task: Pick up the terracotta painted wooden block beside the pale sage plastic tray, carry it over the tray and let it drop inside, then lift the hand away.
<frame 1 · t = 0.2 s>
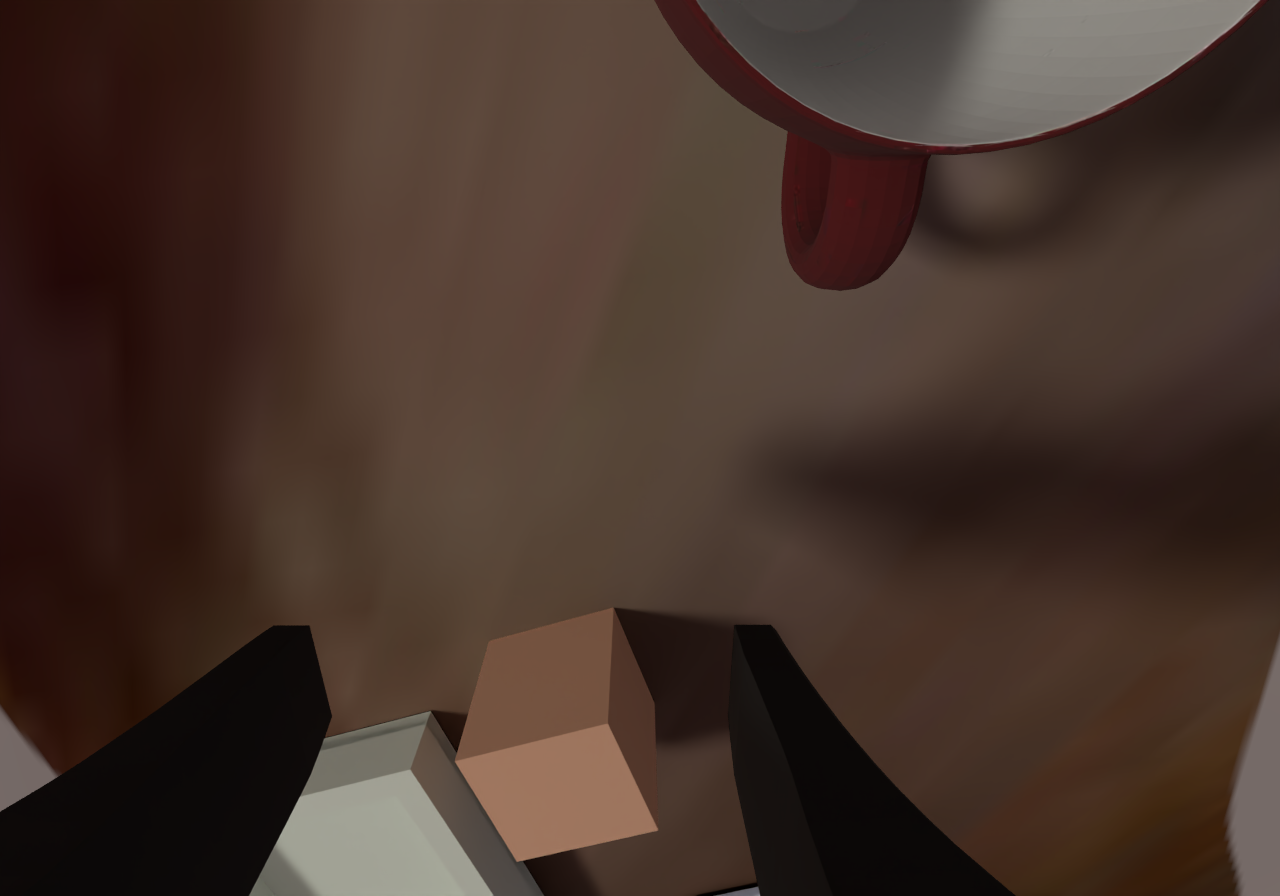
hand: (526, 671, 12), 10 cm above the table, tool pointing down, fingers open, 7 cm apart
tray: (371, 847, 28), on the table
block: (574, 671, 24), on the table
mug: (802, 7, 16), on the table
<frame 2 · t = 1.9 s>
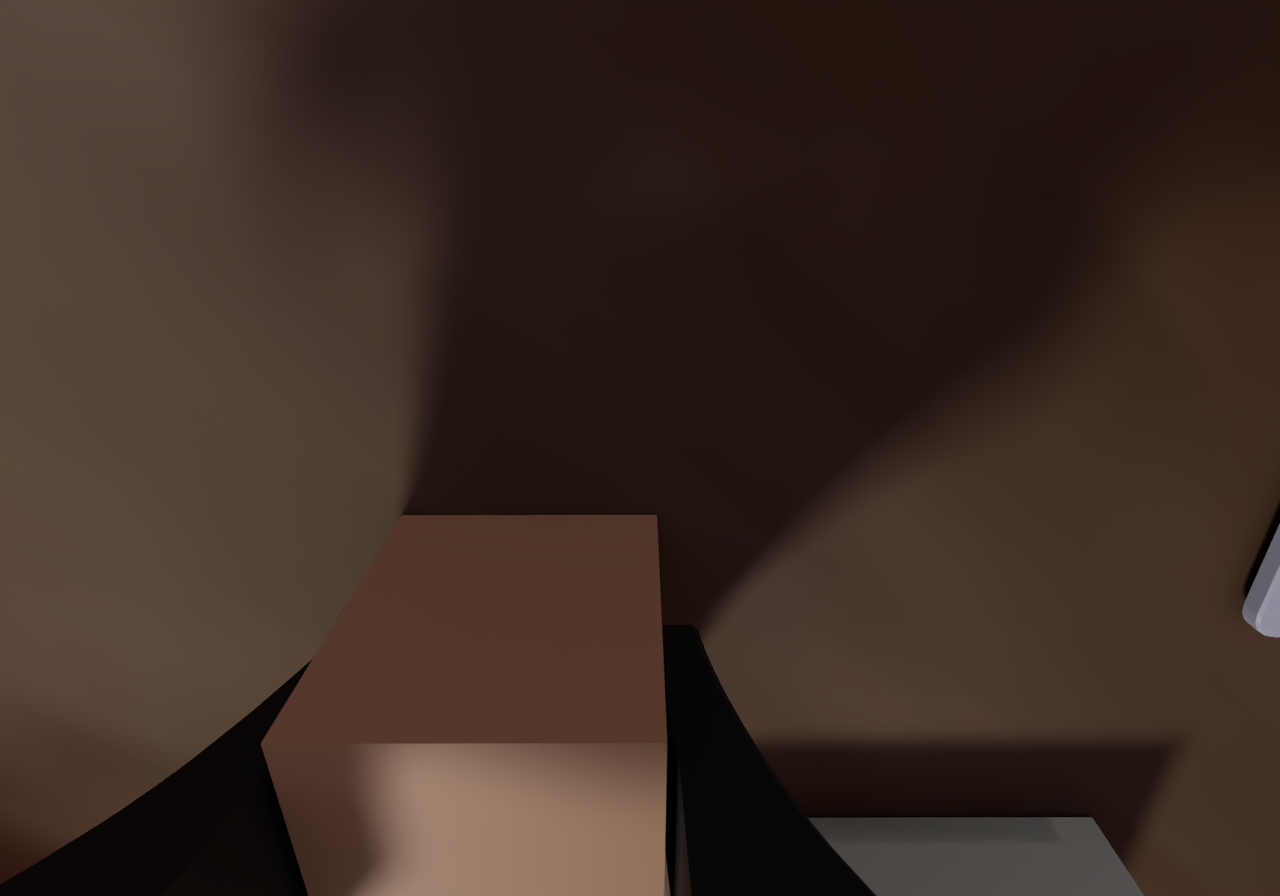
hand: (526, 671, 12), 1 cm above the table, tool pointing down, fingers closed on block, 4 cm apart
block: (537, 618, 13), on the table, touching gripper
when the fingers open (4 cm above the table, at t = 5.5 s): block drops 2 cm, resting on tray.
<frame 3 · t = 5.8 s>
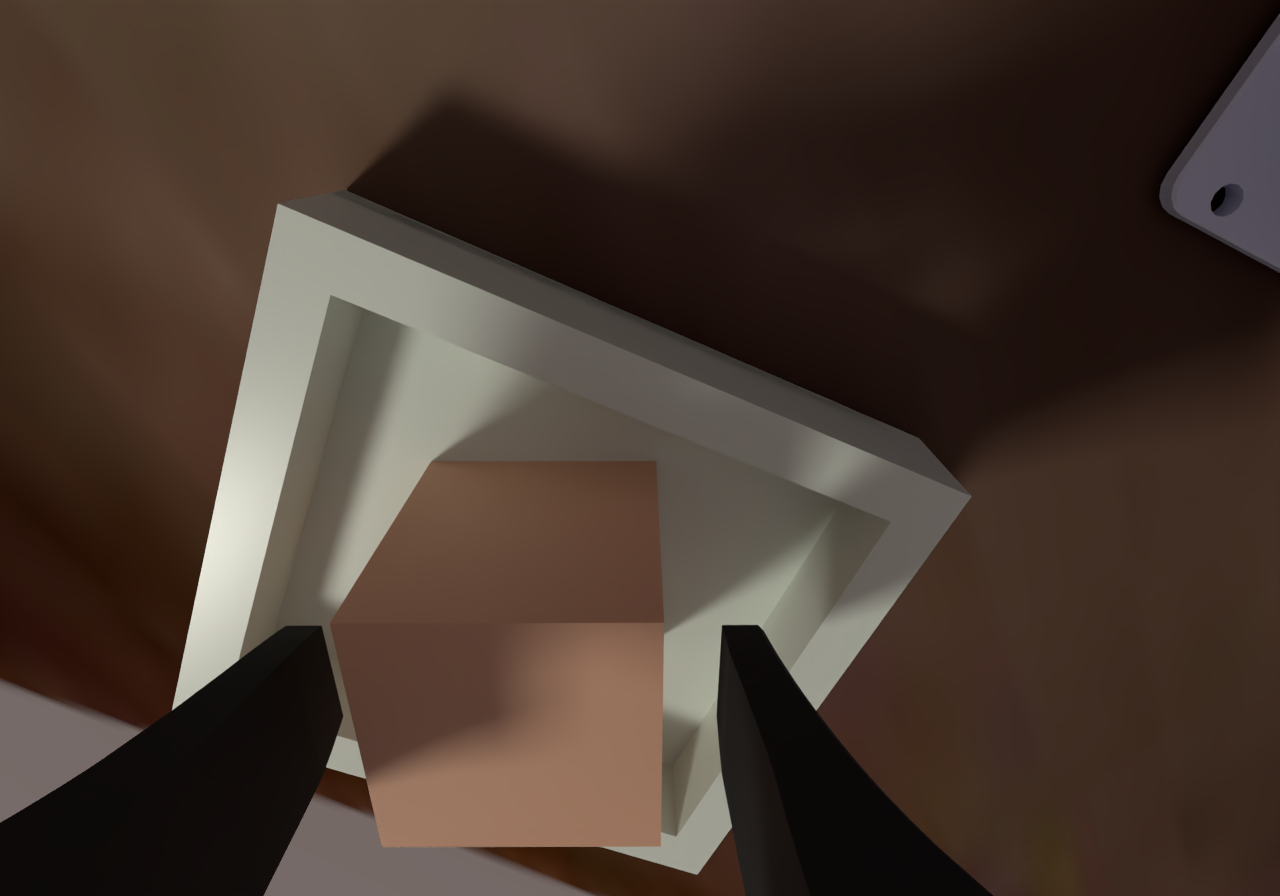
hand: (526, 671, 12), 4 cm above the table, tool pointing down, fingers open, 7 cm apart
tray: (552, 546, 15), on the table
block: (549, 556, 15), point 1 cm above the table, touching tray
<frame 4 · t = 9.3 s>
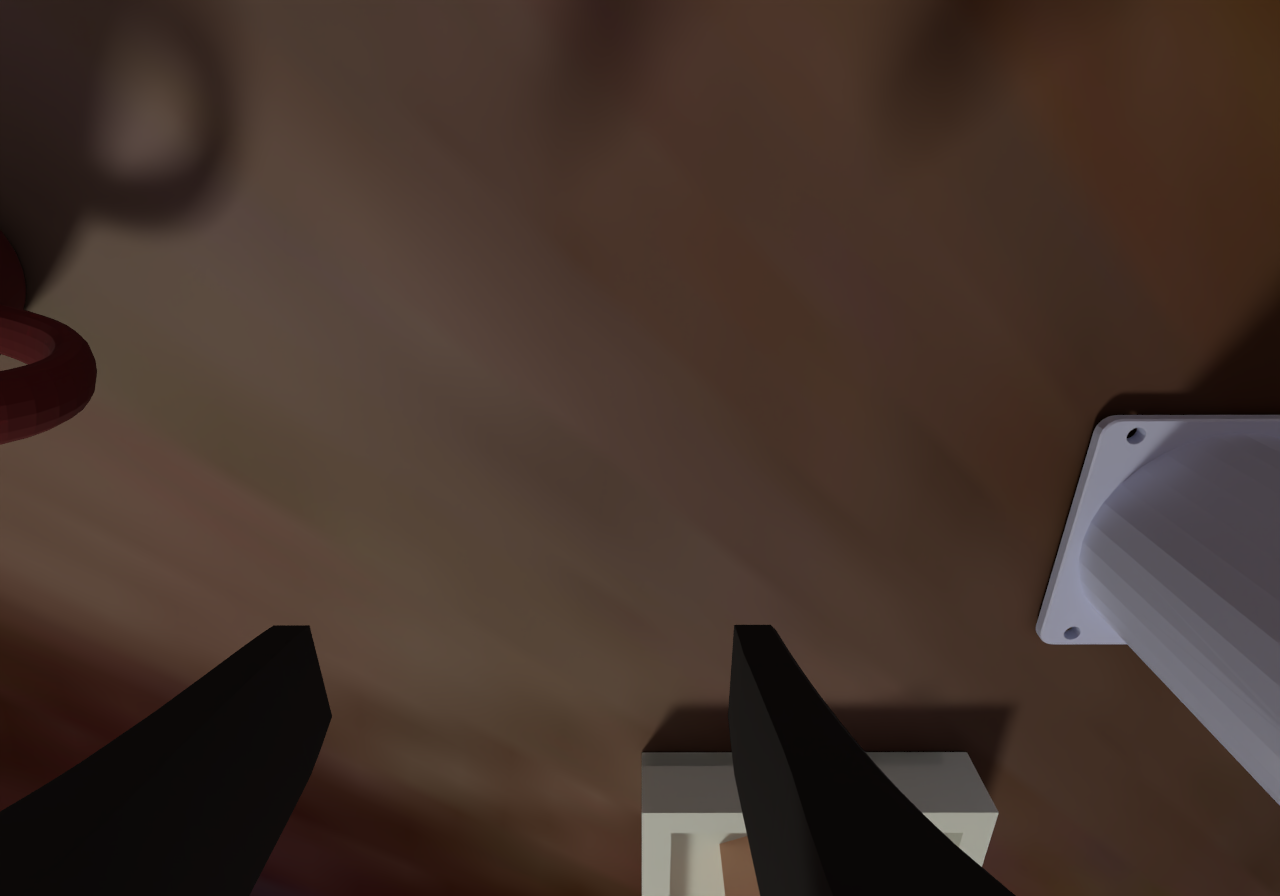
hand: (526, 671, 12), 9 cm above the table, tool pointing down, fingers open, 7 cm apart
tray: (790, 851, 28), on the table
block: (793, 863, 27), point 1 cm above the table, touching tray
mug: (4, 270, 19), on the table
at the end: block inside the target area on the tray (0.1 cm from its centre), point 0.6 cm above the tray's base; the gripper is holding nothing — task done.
